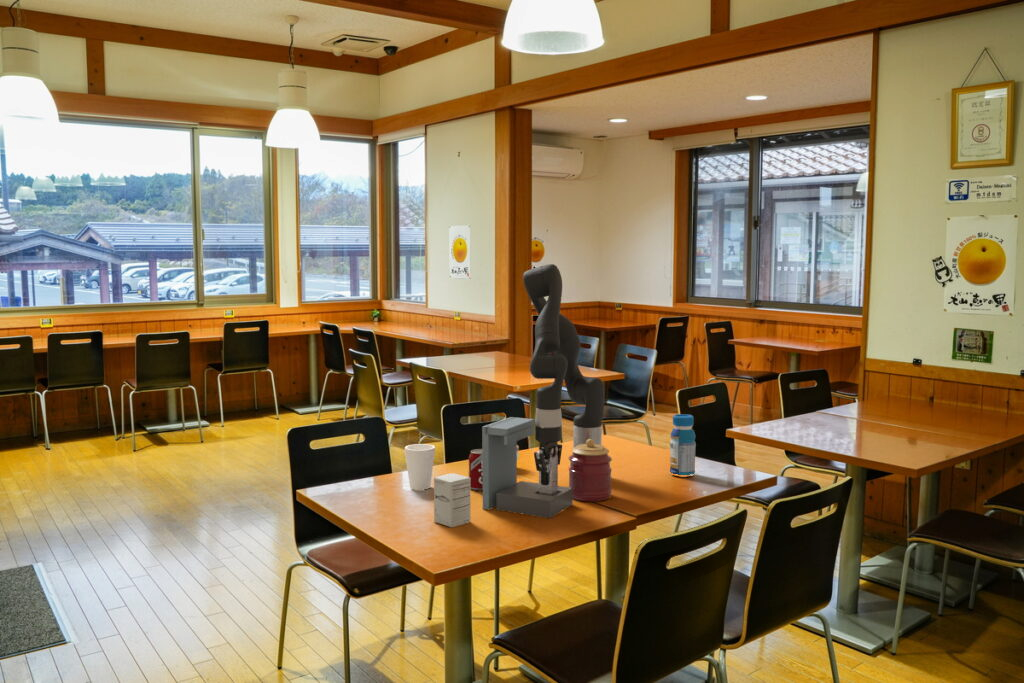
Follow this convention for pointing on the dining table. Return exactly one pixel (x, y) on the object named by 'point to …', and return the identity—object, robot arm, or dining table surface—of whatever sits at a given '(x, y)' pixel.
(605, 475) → the canister
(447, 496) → the supplement box
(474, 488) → the soda can
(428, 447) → the foam cup
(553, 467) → the peg
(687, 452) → the beverage bottle
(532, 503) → the socket
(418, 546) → the dining table surface
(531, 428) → the coffee dispenser stand
